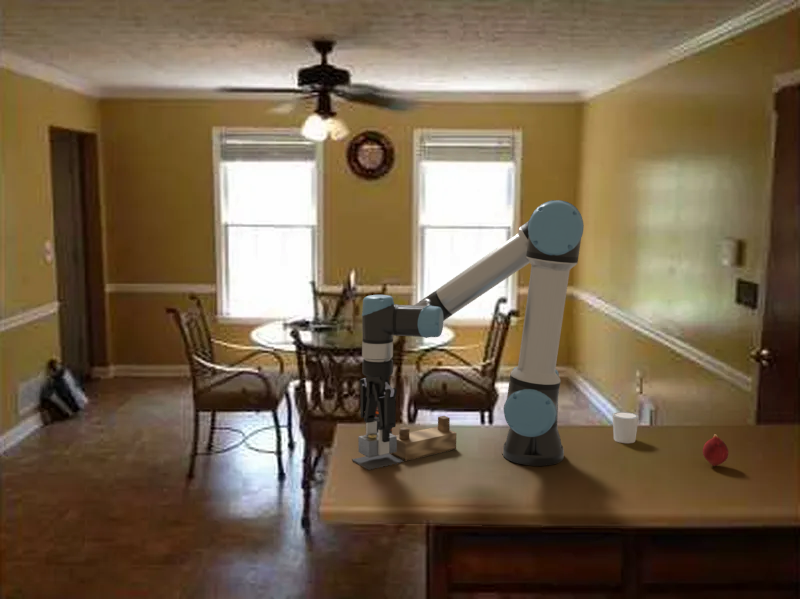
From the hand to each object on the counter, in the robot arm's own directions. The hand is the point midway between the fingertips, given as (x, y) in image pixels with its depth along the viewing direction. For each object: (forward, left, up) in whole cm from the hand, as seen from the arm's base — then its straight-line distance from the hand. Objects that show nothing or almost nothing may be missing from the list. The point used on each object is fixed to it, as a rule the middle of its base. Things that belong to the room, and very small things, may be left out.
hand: (377, 450), depth 192 cm
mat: (0, 0, -3) cm, 3 cm away
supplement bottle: (+15, -11, -3) cm, 19 cm away
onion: (-49, -67, -3) cm, 83 cm away
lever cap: (0, 0, 0) cm, 0 cm away
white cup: (-23, -65, -3) cm, 69 cm away
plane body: (0, -14, -3) cm, 14 cm away
